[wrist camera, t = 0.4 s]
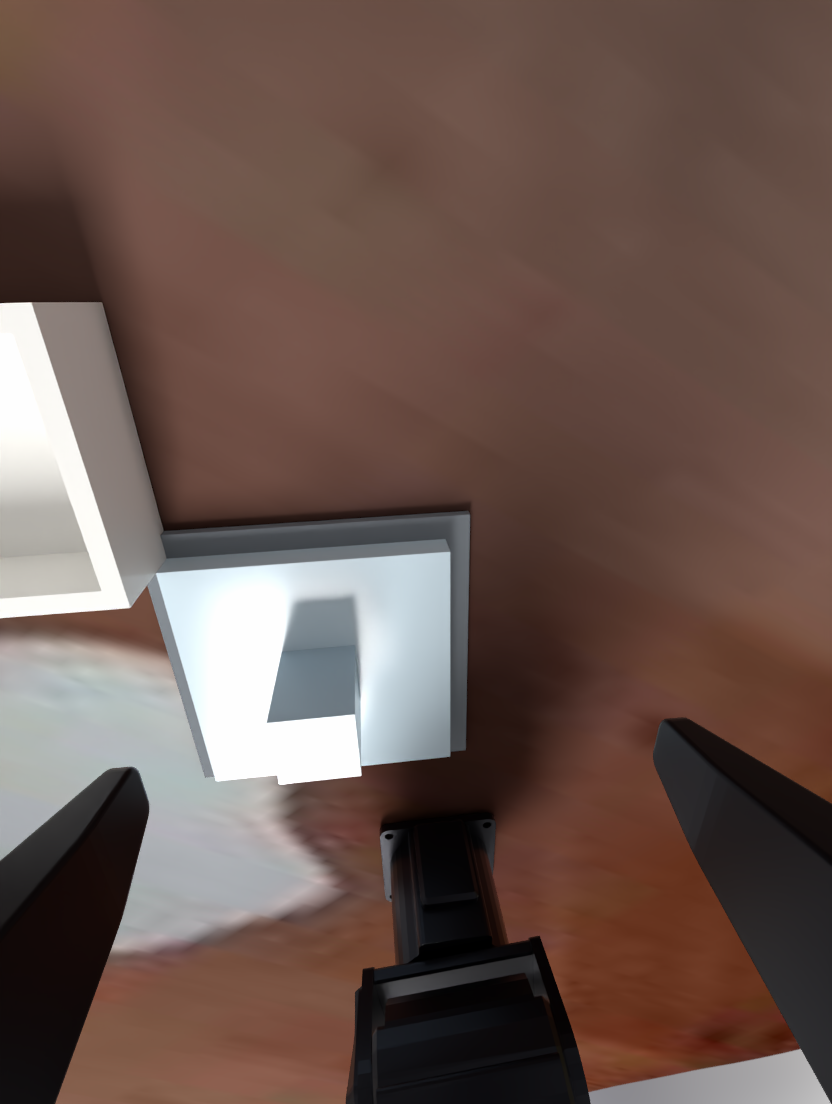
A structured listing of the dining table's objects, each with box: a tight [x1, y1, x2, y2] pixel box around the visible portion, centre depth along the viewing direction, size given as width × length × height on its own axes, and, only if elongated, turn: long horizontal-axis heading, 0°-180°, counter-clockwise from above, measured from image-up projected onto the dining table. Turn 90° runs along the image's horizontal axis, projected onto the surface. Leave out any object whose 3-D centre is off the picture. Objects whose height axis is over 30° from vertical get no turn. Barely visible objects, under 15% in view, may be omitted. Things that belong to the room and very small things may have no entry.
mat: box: [148, 511, 470, 777], centre depth 23 cm, size 13×13×1 cm
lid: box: [156, 539, 450, 785], centre depth 21 cm, size 11×11×5 cm
